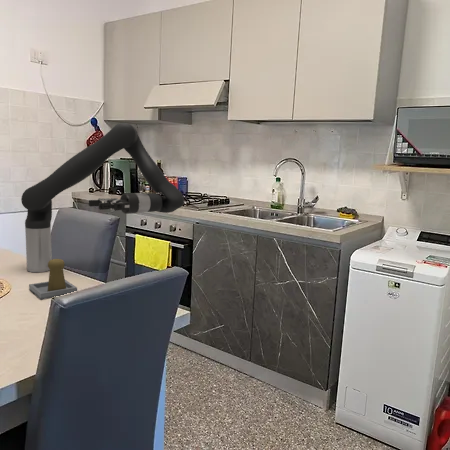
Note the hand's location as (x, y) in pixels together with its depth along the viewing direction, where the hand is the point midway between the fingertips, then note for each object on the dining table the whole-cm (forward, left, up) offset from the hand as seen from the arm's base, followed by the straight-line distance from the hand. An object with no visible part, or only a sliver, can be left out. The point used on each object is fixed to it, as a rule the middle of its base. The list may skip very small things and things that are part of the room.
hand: (94, 204), depth 155 cm
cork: (+2, -14, -29) cm, 32 cm away
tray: (0, -15, -29) cm, 33 cm away
